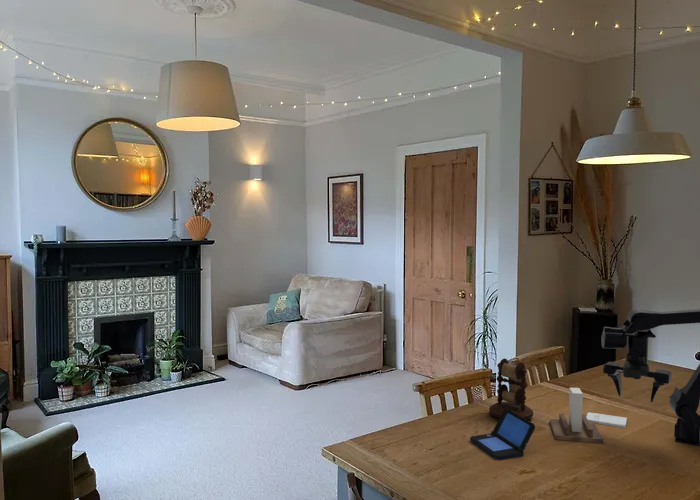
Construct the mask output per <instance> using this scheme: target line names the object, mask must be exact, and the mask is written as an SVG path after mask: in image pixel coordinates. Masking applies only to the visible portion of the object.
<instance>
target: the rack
mask: <svg viewBox="0 0 700 500" xmlns="http://www.w3.org/2000/svg"><path fill="white" fill-rule="evenodd" d="M586 416H587V415H585V414H582V432H572V431H571V429H570V426H569V419H567V418H566V416H565V414H564V413H559V414H558V418H557V419H556V418H555V419H554V418H549V424H550V427H551V429H552V434H553V436H554V439H555V440H560V441H561V440H562V441H571V442H572V441H573V442H584V443H595V444H596V443H597V444H604V438H603V436H602V434H601V432H600V431H599V429H598V427H597V425H596V423H594V422H589V421H588V419H587V418H586Z"/></svg>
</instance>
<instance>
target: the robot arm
mask: <svg viewBox="0 0 700 500" xmlns="http://www.w3.org/2000/svg"><path fill="white" fill-rule="evenodd" d="M688 324H700V308H698V309H684V310H682V309H681V310H670V311H669V310H668V311H654V310H648V309H632V310H630V311H629V312H628V314H627V316H626V319H625V320H624V322H622V324H621V325H620V326H619V327H610V326H603V330H602V334H601V335H600V337H601V347H602V349H614V350H623V349H624V348H627V352H626V359H625V361H624V363H623V366H622V365H621V363H620V362H614V361H613V362H612V361H608V362H606V363H605V364H604V365H603V367H602V373H603V374H606V375H607V377H609V378H611V380H612V381H613V382H614V387H615V388H616V391H617V395H618V396H619V397H621V396H622V374H623V377H624V378H626V379H628V378H630V379H635V380H640V379H641V378H642V377H647V378H653V382H652V388H651V395H650V403H653V402H654V400H655V398H656V396H657V392H658V391H659V388H661V386H665V385H666V384H670V382H671V381H672V379H673V378H672V372H671V371H670V370H665V369H659V368H658V369H656V370H655V371H650V366H649V364H648V355H649V351H648V350H649V349H648V348H649V338H654V339H655V338H657V337H656V335H655V334H654V333H653V331H652V329H655V328H657V327H661V326H672V325H673V326H674V325H688ZM668 398H669V401H668V404H669V407H670V409H671V410H672V411H673V412H674V413H675V415H676V417H677V420H676V422H675V424H674V438H675V439H674V442H678V443H684V444H688V445H692V446H697V447H700V415H699V413H698V409H699V406H700V363H699V364H698V366H697V367H696V368H695V370H694V372H693V374H692V375H691V377H690V378H689V379H688V382H687V383H686V384H685V385H684V386H683V387H682V388H679V387H678V386H676V387H674V390H673V392H672V394H671V395H670V396H668Z"/></svg>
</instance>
